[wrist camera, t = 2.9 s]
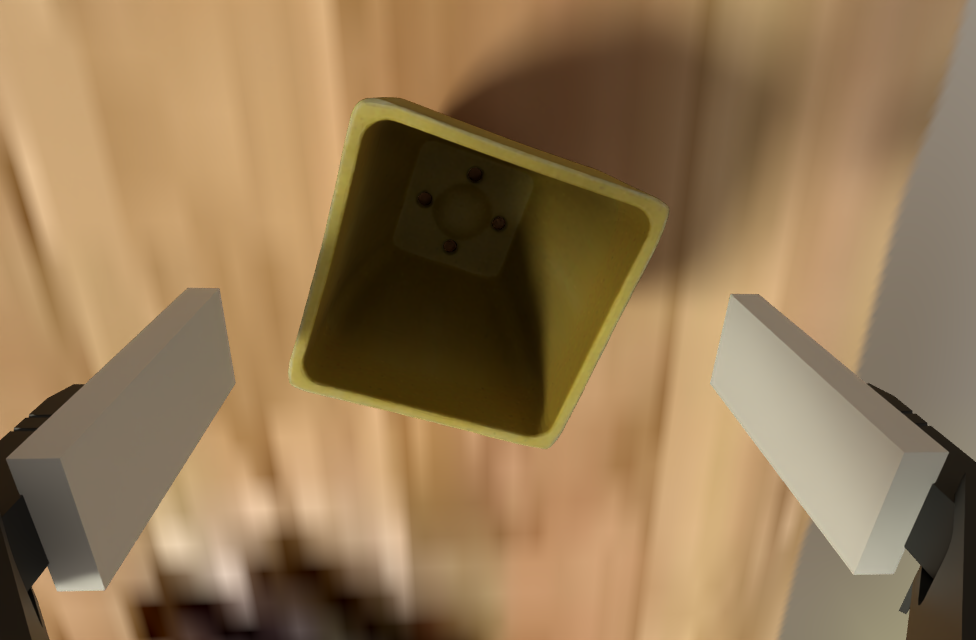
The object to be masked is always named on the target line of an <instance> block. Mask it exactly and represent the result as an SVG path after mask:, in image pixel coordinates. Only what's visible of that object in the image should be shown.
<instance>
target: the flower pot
mask: <svg viewBox="0 0 976 640" xmlns="http://www.w3.org/2000/svg"><path fill="white" fill-rule="evenodd" d="M472 168H479V169H480V170H481V172H482V177H481V179H480V180H479V181H472V180H470V179H469V177H468V172H469V170H470V169H472ZM423 192H427V193H429V194H430V195H431V197H432V202H431V203H430V204H429V205H422V204H421V203H420V202H419V201H418V196H419V195H420V194H421V193H423ZM668 215H669V207H668V206H667V205H666V204H665V203H664V202H662V201H661V200H659V199H658V198H656V197H654V196H651V195H649V194H647V193H645V192H643V191H640V190H638V189H636V188H634V187H632V186H630V185H628V184H626V183H624V182H622V181H620V180H617V179H615V178H613V177H611V176H609V175H607V174H605V173H603V172H601V171H599V170H596V169H593V168H590V167H587V166H584V165H581V164H579V163H576V162H573V161H570V160H567V159H564V158H561V157H558V156H555V155H552V154H550V153H547V152H544V151H541V150H538V149H535V148H532V147H530V146H527V145H524V144H521V143H519V142H516V141H513V140H510V139H508V138H505V137H502V136H500V135H497V134H494V133H492V132H489V131H486V130H484V129H481V128H478V127H476V126H473V125H470V124H468V123H465V122H463V121H460V120H457V119H455V118H452V117H449V116H447V115H444V114H441V113H439V112H436V111H434V110H431V109H429V108H426V107H423V106H421V105H418V104H415V103H413V102H410V101H408V100H405V99H401V98H394V97H380V98H366V99H363V100H361V101H359V102H358V103H357V104H356V106H355V107H354V109H353V111H352V114H351V117H350V122H349V126H348V130H347V134H346V139H345V143H344V147H343V152H342V157H341V162H340V167H339V172H338V177H337V181H336V186H335V190H334V194H333V199H332V203H331V207H330V212H329V216H328V221H327V225H326V230H325V234H324V238H323V243H322V247H321V251H320V254H319V258H318V261H317V265H316V269H315V273H314V277H313V280H312V284H311V287H310V291H309V296H308V299H307V302H306V306H305V309H304V314H303V317H302V321H301V325H300V328H299V332H298V335H297V339H296V342H295V345H294V349H293V352H292V356H291V360H290V364H289V370H288V376H289V382H290V384H291V385H292V386H294V387H296V388H298V389H301V390H303V391H307V392H310V393H314V394H319V395H322V396H327V397H331V398H335V399H340V400H344V401H348V402H351V403H355V404H359V405H364V406H369V407H373V408H378V409H382V410H386V411H390V412H394V413H398V414H402V415H406V416H409V417H413V418H418V419H422V420H426V421H430V422H435V423H438V424H442V425H445V426H449V427H453V428H458V429H462V430H466V431H470V432H474V433H477V434H481V435H484V436H487V437H491V438H496V439H500V440H504V441H508V442H512V443H515V444H520V445H525V446H530V447H536V448H541V449H548V448H550V447H551V446H552V445H553V444H554V443H555V442H556V440H557V439H558V438H559V436H560V435H561V433H562V431H563V430H564V427H565V425H566V423H567V421H568V419H569V418H570V416H571V414H572V412H573V410H574V408H575V406H576V404H577V402H578V400H579V398H580V396H581V394H582V393H583V390H584V388H585V386H586V384H587V382H588V380H589V378H590V376H591V374H592V372H593V370H594V368H595V366H596V364H597V362H598V360H599V358H600V357H601V355H602V353H603V351H604V349H605V347H606V345H607V343H608V341H609V338H610V336H611V334H612V332H613V330H614V328H615V326H616V324H617V322H618V320H619V318H620V317H621V315H622V313H623V311H624V309H625V307H626V305H627V303H628V301H629V299H630V297H631V295H632V293H633V291H634V289H635V287H636V285H637V283H638V282H639V280H640V278H641V276H642V274H643V272H644V270H645V268H646V266H647V264H648V262H649V261H650V259H651V257H652V255H653V253H654V251H655V249H656V247H657V245H658V242H659V240H660V238H661V235H662V233H663V231H664V228H665V225H666V222H667V219H668ZM496 217H502V218H503V219H504V220H505V226H504V228H503V229H500V230H497V229H495V228H493V226H492V221H493V220H494V219H495V218H496ZM448 240H453V241H454V242H456V245H457V248H456V250H455V251H453V252H447V251H446V250H445V249H444V247H443V245H444V243H445V242H446V241H448Z"/></svg>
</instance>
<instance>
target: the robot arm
mask: <svg viewBox="0 0 976 640" xmlns="http://www.w3.org/2000/svg"><path fill="white" fill-rule="evenodd" d="M235 383H236V382H235V377H234V371H233V365H232V359H231V353H230V347H229V342H228V336H227V330H226V324H225V318H224V313H223V307H222V301H221V295H220V289H219V288H187V289H186V290H185V291H184V292H183V293H182V294H181V295H180V296H178V297H177V298H176V299H175V300H174V301H173V302H172V303H171V304H170V305H169V306H168V307H167V308H166V309H165V310H164V311H162V312H161V313H160V314H159V315H158V316H157V317H156V318H155V319H154V320H153V321H152V322H151V323H150V324H149V325H148V326H147V327H145V328H144V329H143V330H142V331H141V332H140V333H139V334H138V335H137V336H136V337H135V338H134V339H133V340H132V341H131V342H129V343H128V344H127V345H126V346H125V347H124V348H123V349H122V350H121V351H120V352H119V353H118V354H117V355H116V356H115V357H113V358H112V359H111V360H110V361H109V362H108V363H107V364H106V365H105V366H104V367H103V368H102V369H101V370H100V371H99V372H98V373H96V374H95V375H94V376H93V377H92V378H91V379H90V380H89V381H88V382H87V383H86V384H74V385H72V386H70V387H68V388H66V389H64V390H62V391H60V392H59V393H57V394H55V395H53V396H51V397H49V398H47V399H46V400H45V401H44V402H43V403H42V404H40V405H39V406H38V407H37V408H36V409H35V410H34V411H33V412H31V413H30V414H29V418H25V419H24V420H22V421H21V422H20V423H19V424H18V425H17V426H16V427H15V428H14V431H10V432H9V433H8V434H7V435H6V436H4V437H3V438H2V439H1V440H0V640H49V637H48V634H47V630H46V627H45V624H44V620H43V617H42V614H41V611H40V607H39V604H38V601H37V598H36V596H35V593H34V591H33V589H32V585H33V584H34V582H35V581H36V580H37V579H38V577H39V576H40V575H41V573H42V572H43V571H44V569H45V568H46V567H47V566H48V569H49V571H50V574H51V576H52V579H53V581H54V584H55V587H56V589H57V591H99V590H106V588H107V586H108V585H109V583H110V582H111V580H112V579H113V577H114V575H115V574H116V572H117V571H118V569H119V567H120V566H121V564H122V563H123V561H124V559H125V558H126V556H127V555H128V553H129V552H130V550H131V548H132V547H133V545H134V544H135V542H136V540H137V539H138V537H139V536H140V534H141V533H142V531H143V529H144V528H145V526H146V525H147V523H148V521H149V520H150V518H151V517H152V515H153V513H154V512H155V510H156V509H157V507H158V506H159V504H160V502H161V501H162V499H163V498H164V496H165V494H166V493H167V491H168V490H169V488H170V486H171V485H172V483H173V482H174V480H175V479H176V477H177V475H178V474H179V472H180V471H181V469H182V467H183V466H184V464H185V463H186V461H187V459H188V458H189V456H190V455H191V453H192V452H193V450H194V448H195V447H196V445H197V444H198V442H199V440H200V439H201V437H202V436H203V434H204V432H205V431H206V429H207V428H208V426H209V425H210V423H211V421H212V420H213V418H214V417H215V415H216V413H217V412H218V410H219V409H220V407H221V406H222V404H223V402H224V401H225V399H226V398H227V396H228V394H229V393H230V391H231V390H232V388H233V386H234V385H235ZM710 384H711V385H712V387H713V388H714V389H715V391H716V392H717V393H718V395H719V396H720V397H721V399H722V400H723V401H724V403H725V404H726V405H727V407H728V408H729V409H730V411H731V412H732V413H733V415H734V416H735V417H736V419H737V420H738V421H739V423H740V424H741V425H742V427H743V428H744V429H745V431H746V432H747V433H748V435H749V436H750V437H751V439H752V440H753V441H754V443H755V444H756V445H757V447H758V448H759V449H760V451H761V452H762V453H763V455H764V456H765V457H766V459H767V460H768V461H769V463H770V464H771V465H772V467H773V468H774V469H775V471H776V472H777V473H778V475H779V476H780V477H781V479H782V480H783V481H784V483H785V484H786V485H787V487H788V488H789V489H790V491H791V492H792V493H793V495H794V496H795V497H796V499H797V500H798V501H799V503H800V504H801V505H802V507H803V508H804V509H805V511H806V512H807V513H808V515H809V516H810V517H811V519H812V520H813V521H814V523H815V524H816V525H817V527H818V528H819V529H820V531H821V532H822V533H823V535H825V537H826V539H827V540H828V541H829V543H830V544H831V545H832V547H833V548H834V549H835V551H836V552H837V553H838V554H839V556H840V557H841V559H842V560H843V561H844V563H845V564H846V565H847V567H848V568H849V569H850V570H851V572H852V573H853V574H854V575H867V574H894V572H895V570H896V568H897V566H898V563H899V561H900V559H901V557H902V555H903V553H904V550H905V548H906V549H907V550H908V551H909V552H910V554H911V555H912V556H913V557H914V558H915V559H916V560H917V561H918V563H919V564H920V565H921V566H920V568H919V570H918V572H917V574H916V576H915V578H914V580H913V582H912V584H911V587H910V589H909V591H908V593H907V595H906V597H905V599H904V601H903V603H902V605H901V607H900V610H899V611H901V612H903V613H905V614H906V613H907V612H908V610H909V609H910V612H909V620H908V629H907V637H906V640H976V462H975V461H974V460H973V459H971V458H970V457H969V456H968V455H966V454H965V453H964V452H963V451H962V450H960V449H959V448H958V447H956V446H955V445H954V444H953V443H952V442H950V441H949V440H948V439H946V438H945V437H944V436H943V435H942V434H940V433H939V432H938V431H937V430H935V429H934V428H933V427H931V426H927V422H925V421H924V420H923V419H921V417H919V416H918V415H917V414H913V413H912V410H911V409H909V408H908V407H907V406H906V405H904V404H903V403H902V402H901V401H899V400H898V399H897V398H896V397H894V396H893V395H891V394H889V393H887V392H885V391H883V390H881V389H879V388H877V387H875V386H873V385H871V384H866V383H865V382H864V381H863V380H861V379H860V378H859V377H858V376H857V375H855V374H854V373H853V372H852V371H851V370H849V369H848V368H847V367H846V366H845V365H843V364H842V363H841V362H840V361H838V360H837V359H836V358H835V357H834V356H832V355H831V354H830V353H829V352H828V351H826V350H825V349H824V348H823V347H822V346H820V345H819V344H818V343H817V342H816V341H814V340H813V339H812V338H811V337H810V336H808V335H807V334H806V333H805V332H804V331H802V330H801V329H800V328H799V327H797V326H796V325H795V324H794V323H793V322H791V321H790V320H789V319H788V318H787V317H785V316H784V315H783V314H782V313H781V312H779V311H778V310H777V309H776V308H775V307H773V306H772V305H771V304H770V303H769V302H767V301H766V300H765V299H764V298H763V297H761V296H760V295H759V294H730V298H729V303H728V307H727V312H726V316H725V320H724V325H723V329H722V334H721V338H720V342H719V347H718V351H717V356H716V360H715V364H714V369H713V373H712V377H711V382H710Z"/></svg>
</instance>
